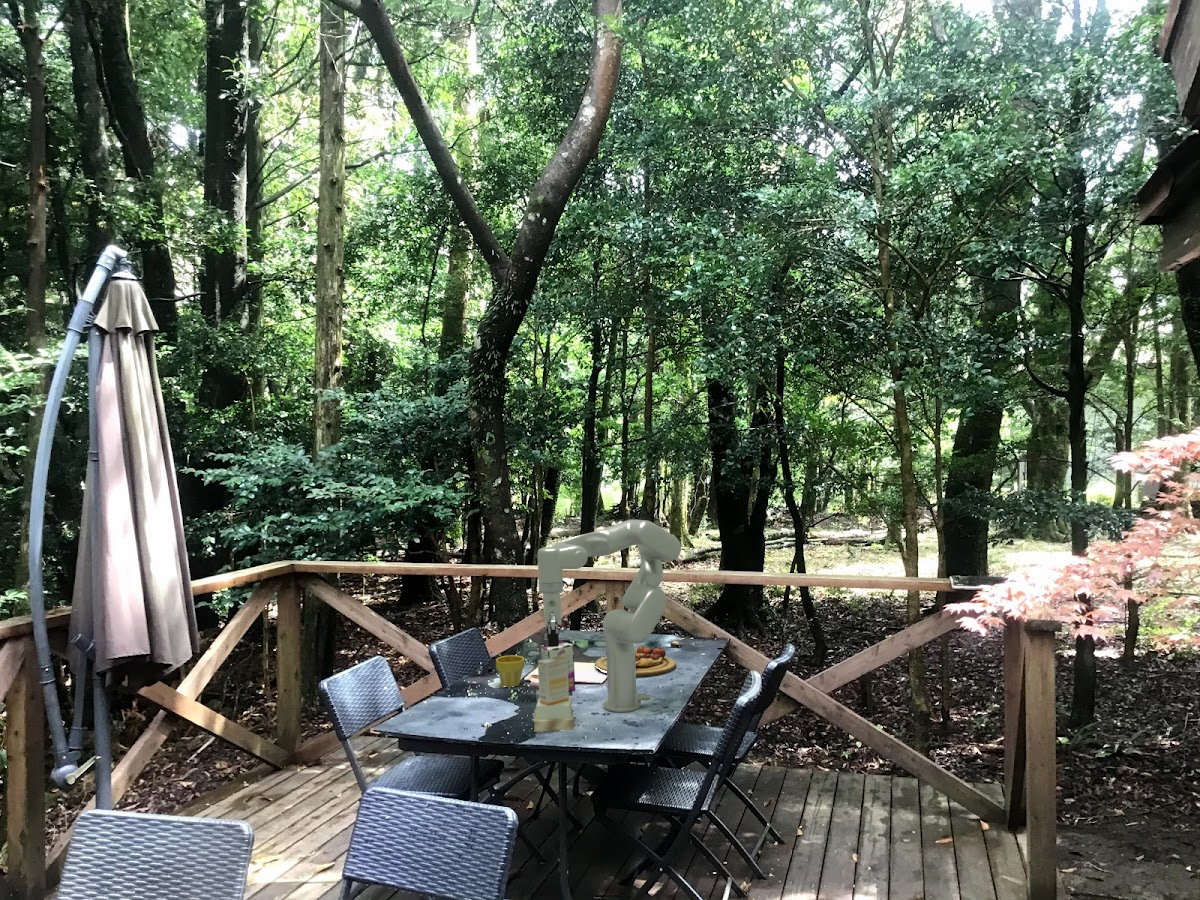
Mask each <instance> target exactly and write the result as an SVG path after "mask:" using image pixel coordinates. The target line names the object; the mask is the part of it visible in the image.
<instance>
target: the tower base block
mask: <svg viewBox="0 0 1200 900" xmlns="http://www.w3.org/2000/svg"><path fill="white" fill-rule="evenodd" d="M533 714H534V715H533V719H534V720H533V723H534V725H533V727H534V729H533V730H534V731H533V732H538V733H544V732H543V731H556V732H561V731H560V730H574V731H575V717H574V710H573V708H572V710H571V714H570V718H569V719H536V708H535V709H533ZM539 731H541V732H539Z"/></svg>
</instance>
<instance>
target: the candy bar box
mask: <svg viewBox="0 0 1200 900" xmlns="http://www.w3.org/2000/svg"><path fill="white" fill-rule="evenodd" d="M574 650H575V649H574V644H573V643H569V642H562V643H559V646H558V647H549V646H545V647H541V648H540V654H541V655H540V656H541V660H542V659H546V658H550V657H555V656H562V657H566V658H567V666H568V688H569V691H570V692H573V691H572V690H574V691H575V690H576V678H575V676H576V675H575V673H576V672H575V654H574V653H575V652H574Z"/></svg>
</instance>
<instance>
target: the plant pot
mask: <svg viewBox="0 0 1200 900" xmlns="http://www.w3.org/2000/svg"><path fill="white" fill-rule="evenodd" d="M524 668H525V657H524V656H521V655H512V654H511V655H504V656H499V657H497V658H496V660H495V669H496V670H497V671H498V676H499V679H500V680H499V681H500V686H501V685H502V686H506V687H512V686H516V685H519V684H520V683H521V678H522V674H523V669H524ZM502 686H501V687H502ZM519 686H520V685H519Z"/></svg>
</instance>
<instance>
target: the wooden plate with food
mask: <svg viewBox="0 0 1200 900" xmlns="http://www.w3.org/2000/svg"><path fill="white" fill-rule="evenodd" d="M635 657H636V659H635V662H636V678H644V677H646V676H648V677H656V676H660V674H662V675H665V674H664V673H666V674H668V673H667V672H669V673H670V671H671V672H673V671H674V670H675V669H676V667H677V663H676V660H674V659H672V658H671V657H668V656H666V650H665V649H664V648H662V647H660V648H658V647H657V646H655V648H652V649H651V647H650V646H649V647H647V646H646V647H644V645H643V644H642V645H639V646H638V647H637V649H636V651H635ZM595 666H597V667H598V668H600V669H602V670H605V671H607V652H605V656H604V657H601V658H599V659H596V661H595V662H594V667H595ZM655 675H656V676H655Z"/></svg>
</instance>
